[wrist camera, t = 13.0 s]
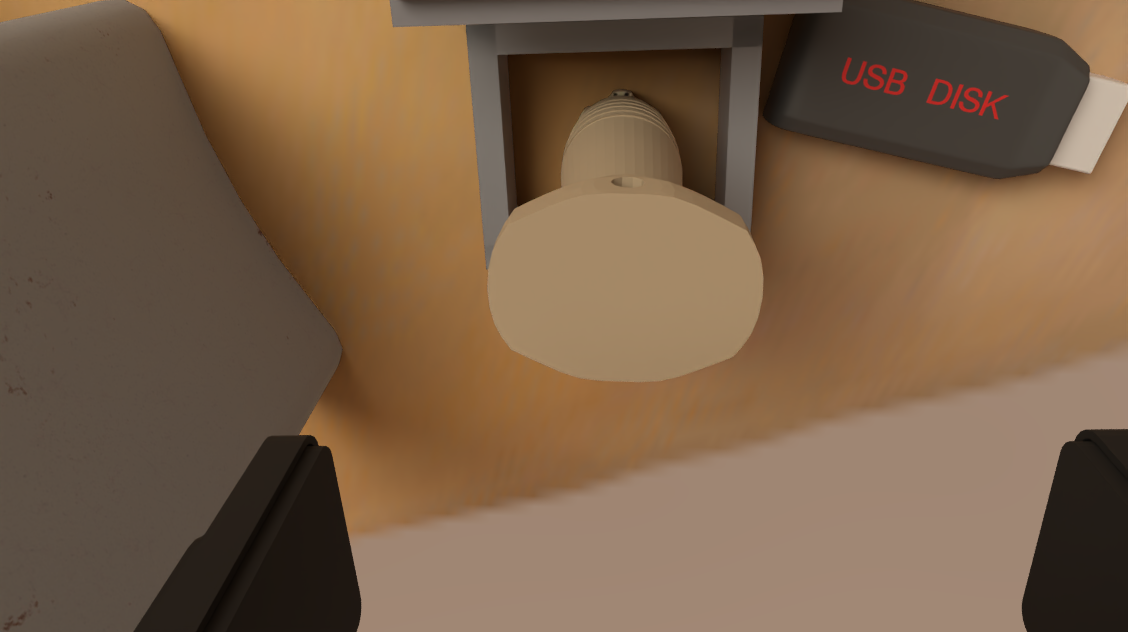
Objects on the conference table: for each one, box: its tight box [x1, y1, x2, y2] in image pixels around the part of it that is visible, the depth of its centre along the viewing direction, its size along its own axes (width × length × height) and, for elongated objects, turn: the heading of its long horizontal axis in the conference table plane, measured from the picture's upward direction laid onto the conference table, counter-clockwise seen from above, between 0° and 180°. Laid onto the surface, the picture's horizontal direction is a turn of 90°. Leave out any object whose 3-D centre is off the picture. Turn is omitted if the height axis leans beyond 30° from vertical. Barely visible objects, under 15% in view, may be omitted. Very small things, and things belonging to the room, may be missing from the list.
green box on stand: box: [390, 0, 843, 270], centre depth 28 cm, size 12×16×9 cm
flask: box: [0, 0, 343, 632], centre depth 25 cm, size 17×5×25 cm, turn 22°
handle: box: [487, 89, 763, 382], centre depth 27 cm, size 5×6×15 cm
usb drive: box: [763, 0, 1128, 179], centre depth 31 cm, size 5×12×3 cm, turn 78°
